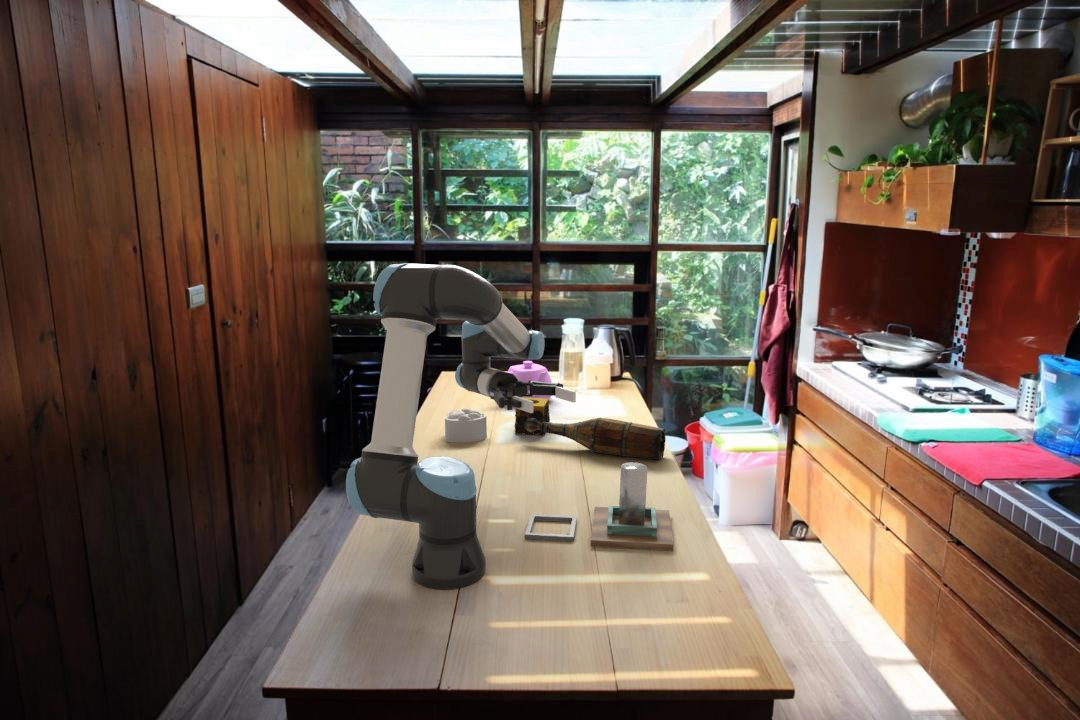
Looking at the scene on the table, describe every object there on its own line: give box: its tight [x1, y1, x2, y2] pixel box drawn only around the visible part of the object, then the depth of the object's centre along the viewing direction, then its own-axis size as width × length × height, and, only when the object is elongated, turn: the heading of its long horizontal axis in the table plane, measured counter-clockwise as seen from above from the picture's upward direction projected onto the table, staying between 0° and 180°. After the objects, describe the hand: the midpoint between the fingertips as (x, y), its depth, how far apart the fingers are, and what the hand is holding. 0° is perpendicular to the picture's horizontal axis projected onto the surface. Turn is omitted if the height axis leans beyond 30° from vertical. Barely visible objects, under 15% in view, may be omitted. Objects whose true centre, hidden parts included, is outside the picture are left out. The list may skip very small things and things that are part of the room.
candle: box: [514, 397, 551, 437], centre depth 243 cm, size 10×10×10 cm
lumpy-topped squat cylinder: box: [444, 407, 488, 443], centre depth 236 cm, size 10×13×9 cm
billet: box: [618, 462, 648, 526], centre depth 169 cm, size 6×6×14 cm
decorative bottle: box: [523, 417, 666, 461], centre depth 223 cm, size 11×11×45 cm
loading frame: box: [524, 513, 578, 542], centre depth 171 cm, size 11×11×1 cm
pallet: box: [590, 505, 674, 552], centre depth 170 cm, size 18×18×4 cm
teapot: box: [506, 360, 553, 400], centre depth 275 cm, size 23×21×15 cm
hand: (554, 402), depth 175 cm, fingers open, 13 cm apart
